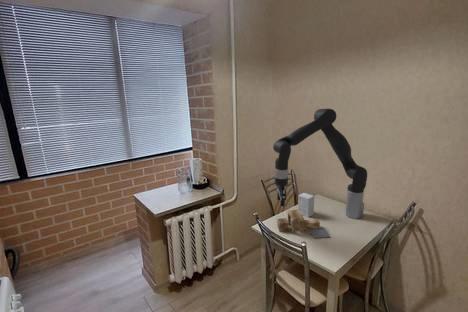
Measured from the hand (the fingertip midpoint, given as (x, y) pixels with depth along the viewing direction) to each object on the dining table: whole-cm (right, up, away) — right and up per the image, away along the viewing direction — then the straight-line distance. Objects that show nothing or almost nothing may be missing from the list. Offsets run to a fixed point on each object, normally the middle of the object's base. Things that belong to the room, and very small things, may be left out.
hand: (280, 202), depth 143 cm
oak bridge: (+10, -16, +4) cm, 19 cm away
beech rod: (+15, -16, +5) cm, 23 cm away
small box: (+21, -11, +21) cm, 32 cm away
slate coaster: (+22, -17, -2) cm, 28 cm away
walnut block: (+2, -16, +4) cm, 17 cm away
